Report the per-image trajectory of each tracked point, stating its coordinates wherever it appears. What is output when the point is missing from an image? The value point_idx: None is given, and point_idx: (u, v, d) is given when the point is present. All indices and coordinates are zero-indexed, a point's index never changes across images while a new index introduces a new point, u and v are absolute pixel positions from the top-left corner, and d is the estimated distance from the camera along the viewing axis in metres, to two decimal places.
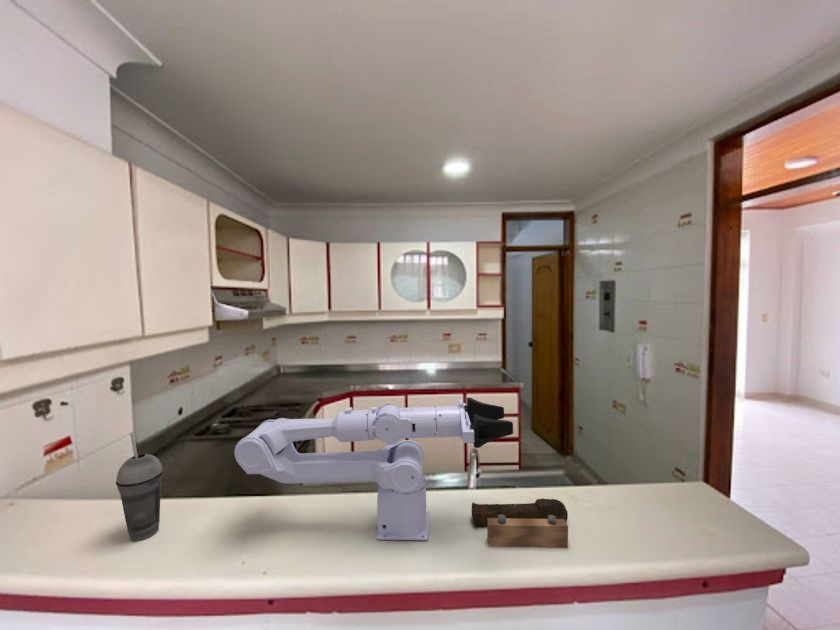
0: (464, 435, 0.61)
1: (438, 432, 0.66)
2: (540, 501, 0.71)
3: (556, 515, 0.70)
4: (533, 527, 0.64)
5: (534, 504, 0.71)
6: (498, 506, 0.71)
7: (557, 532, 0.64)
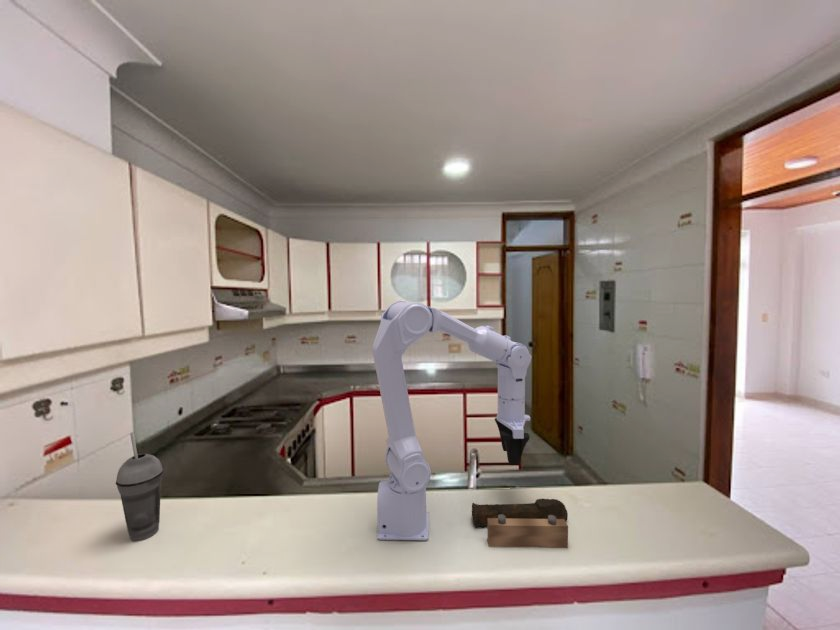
0: (520, 430, 0.71)
1: (509, 401, 0.75)
2: (540, 501, 0.71)
3: (556, 515, 0.70)
4: (533, 527, 0.64)
5: (534, 504, 0.71)
6: (498, 506, 0.71)
7: (557, 532, 0.64)
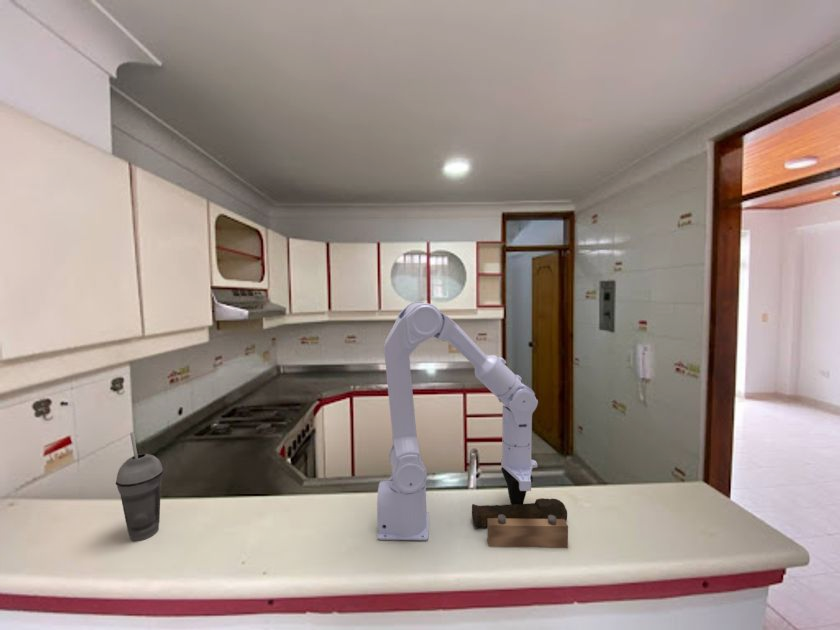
0: (527, 482, 0.66)
1: (514, 448, 0.70)
2: (540, 501, 0.71)
3: (556, 514, 0.70)
4: (533, 527, 0.64)
5: (534, 504, 0.71)
6: (498, 507, 0.71)
7: (557, 532, 0.64)
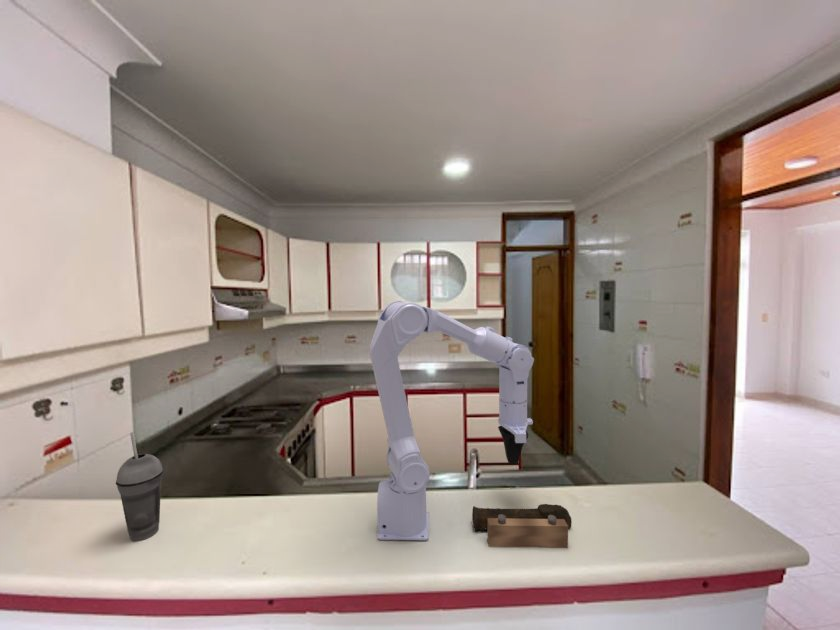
0: (523, 434, 0.69)
1: (511, 404, 0.73)
2: (543, 506, 0.69)
3: None
4: (533, 527, 0.64)
5: (536, 509, 0.70)
6: (499, 511, 0.69)
7: (557, 532, 0.64)
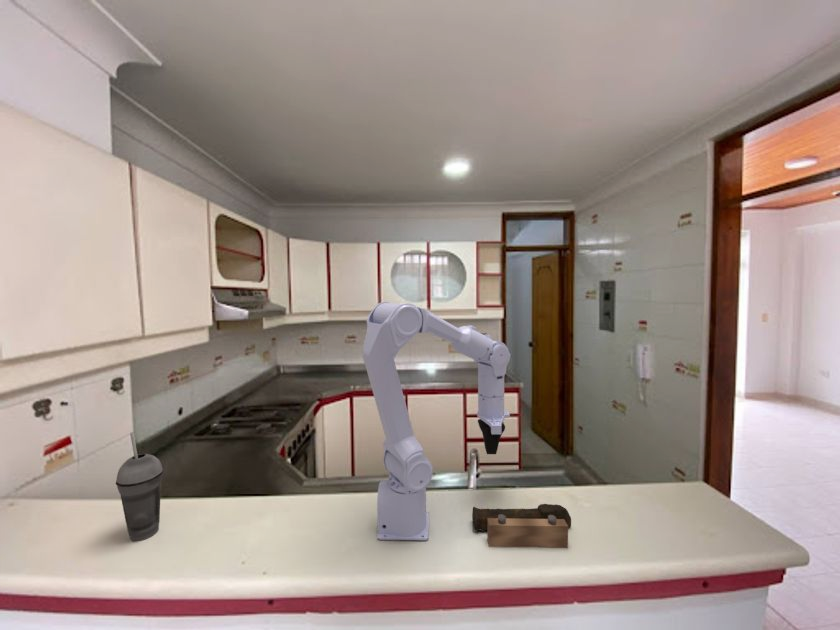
0: (498, 426, 0.73)
1: (488, 398, 0.77)
2: (543, 506, 0.69)
3: None
4: (533, 527, 0.64)
5: (536, 509, 0.70)
6: (499, 511, 0.69)
7: (557, 532, 0.64)
